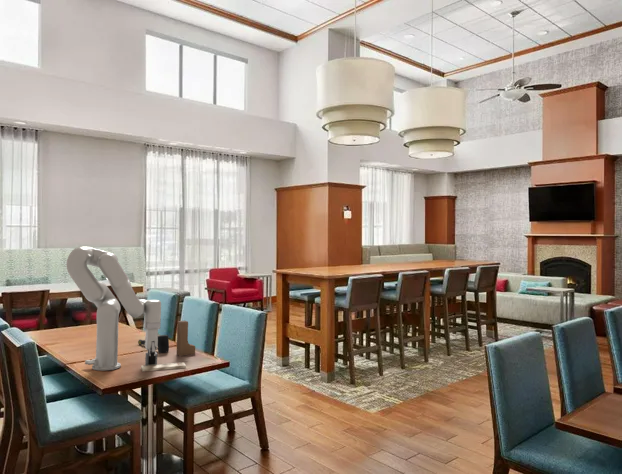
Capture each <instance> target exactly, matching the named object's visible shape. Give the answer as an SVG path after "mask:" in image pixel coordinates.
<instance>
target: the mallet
mask: <svg viewBox="0 0 622 474" xmlns="http://www.w3.org/2000/svg"><path fill="white" fill-rule="evenodd" d="M169 339H170V338H169V335H168V334H162V335H161V334H160V335H158V345H157V351H158V354H164V353H168V352H169V351H170V340H169ZM137 343H138V345H139V346H141V345H144V346H145V339H138V342H137Z"/></svg>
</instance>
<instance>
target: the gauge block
mask: <svg viewBox="0 0 622 474" xmlns="http://www.w3.org/2000/svg"><path fill="white" fill-rule="evenodd" d="M155 356H156V359H155V364H150V365H158V353H157V351H155ZM148 358H149V353H148V352H145V358H144V359H145V362H144V363H145V364H144V366H145V365H149V364H148Z"/></svg>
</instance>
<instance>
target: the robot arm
mask: <svg viewBox="0 0 622 474" xmlns="http://www.w3.org/2000/svg"><path fill="white" fill-rule="evenodd" d="M88 265H89V266H91V267H95V268H99V270H100V271H101V272H102V274H103V275H104V277H105V279H106V280H107V282H108V283H109V285H110V286H111V288H112V290H113V292H114V294H113V292H112V291H111V289H110V288H109V287H108V286H107V284H105V283H104V282H103V281H101V280H98V279H97V278H96V277H95V274H94V273H93V271H92V270H90V269H89V267H88ZM66 270H67V273H68V274H69V276H70V277H71V279H72V281H73V282H74V283H75V285H76V287H77V288H78V289H79V290H80V292H81V293H82V295H83V297H84V298H85V299H86V300H87V301H88V302H90V303H93V304H94V305H95V306H96V309H97V310H96V343H95V345H96V346H95V348H96V349H95V352H96V353H95V356H94V358H92V359H86V360H84V361H85V362H84V365H89V366H90V365H92V366H91V368H92V370H94V371H102V372H105V371H113V370H117V369H120V368H121V366H122V364H121V363H120V362H118V357H119V356H118V354H119V353H118V352H119V351H118V349H119V315H120V313H121V306H123V308H124V309H125V310H124V311H126V313H127V314H128V315H129V316H130V317H132V318H138V317H141V316H142V315H144V324H143V325H144V328H143V329H144V330H145V336H144V337H145V339H144V340H145V345H144V347H145V350H146V351H147V353H149V358H148V364H149V365H150V364H155V359H156V356H155V352H156V350H158V346H157V345H158V336H159V330H160V329H161V323H162V322H161V321H162V318H161V316H162V302H161V300H159V299H140V298H138V295H137V294H136V293H135V291H134V288H133V287H132V284H131V280H130V277H129V276H128V275H127V273H126V272H125V271H124V269H123V267H122V266H121V264H120V263H119V259H118V256H117V255H116V254H115V253H112V252H110V251H105V250H101V249H97V248H93V247H91V246H86V245H83V246H81V245H80V246H78V247H75V248H73V249H72V250H71V251H70V252H69V255H68V257H67V260H66ZM115 295H116V296H115ZM116 297H117V298H116ZM118 300H119V301H118Z"/></svg>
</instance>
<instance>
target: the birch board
mask: <svg viewBox="0 0 622 474" xmlns="http://www.w3.org/2000/svg"><path fill="white" fill-rule="evenodd" d="M186 368H187V364H185V362H174V363H173V362H172V363H162V364H161V363H160V364H158V363H157V365H145V364H144V365H141V366H140V370H141V371H142V372H153V371H163V370H166V371H167V370H176V369H177V370H178V369H186Z"/></svg>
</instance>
